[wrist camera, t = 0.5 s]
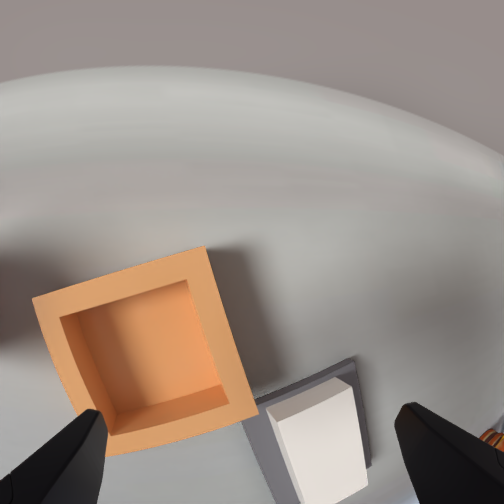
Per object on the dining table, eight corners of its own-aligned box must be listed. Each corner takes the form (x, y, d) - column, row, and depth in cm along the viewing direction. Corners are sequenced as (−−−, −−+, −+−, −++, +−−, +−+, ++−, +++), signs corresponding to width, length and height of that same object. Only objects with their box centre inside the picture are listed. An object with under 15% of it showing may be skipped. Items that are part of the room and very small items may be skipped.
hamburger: (459, 485, 30) (485, 499, 23) (461, 454, 29) (491, 469, 23) (492, 449, 32) (517, 459, 26) (495, 416, 32) (524, 425, 25)
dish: (243, 391, 21) (259, 414, 17) (109, 430, 18) (101, 457, 14) (198, 249, 21) (204, 245, 17) (54, 293, 18) (31, 298, 14)
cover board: (354, 472, 23) (368, 484, 20) (299, 500, 21) (310, 515, 19) (335, 376, 22) (351, 386, 20) (265, 407, 21) (277, 422, 18)
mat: (366, 461, 24) (371, 465, 23) (277, 505, 21) (280, 511, 20) (347, 358, 24) (354, 361, 23) (235, 406, 21) (238, 412, 20)
